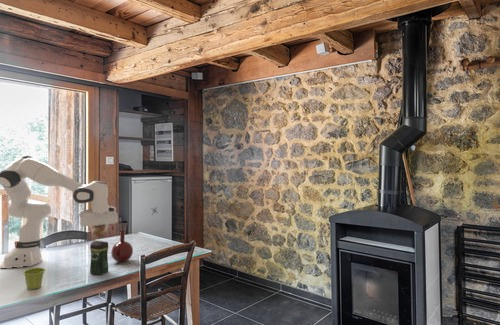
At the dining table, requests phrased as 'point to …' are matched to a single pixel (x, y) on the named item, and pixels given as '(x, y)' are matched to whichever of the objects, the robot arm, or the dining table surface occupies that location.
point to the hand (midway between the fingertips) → (99, 232)
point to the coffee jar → (99, 257)
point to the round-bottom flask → (122, 249)
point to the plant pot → (34, 277)
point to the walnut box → (99, 230)
